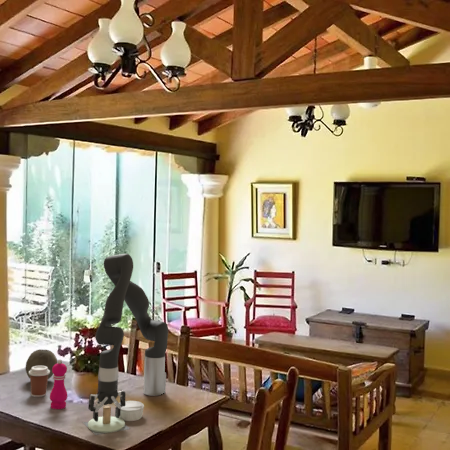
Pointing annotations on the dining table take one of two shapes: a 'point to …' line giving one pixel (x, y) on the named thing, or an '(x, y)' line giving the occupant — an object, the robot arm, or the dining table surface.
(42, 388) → the coffee cup
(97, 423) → the lid
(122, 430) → the mat
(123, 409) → the ramekin
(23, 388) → the dining table surface
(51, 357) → the cantaloupe
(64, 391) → the pepper mill
